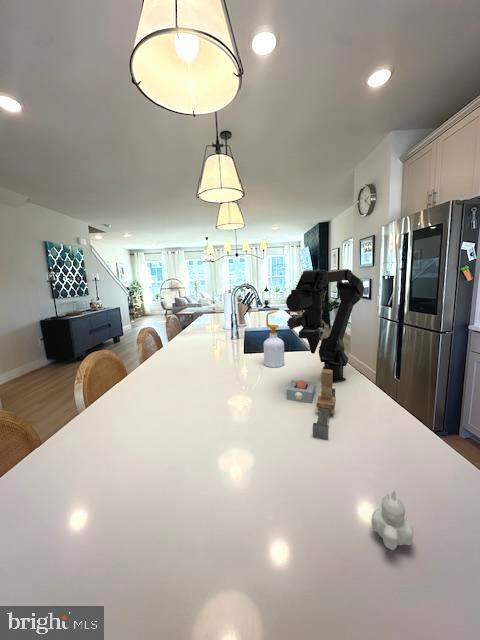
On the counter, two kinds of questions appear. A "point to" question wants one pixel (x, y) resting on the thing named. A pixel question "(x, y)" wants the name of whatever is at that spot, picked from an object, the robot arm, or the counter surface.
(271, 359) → the soap bottle
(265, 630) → the counter surface
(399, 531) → the white animal figurine
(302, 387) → the button
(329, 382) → the wooden t-block
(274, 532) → the counter surface
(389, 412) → the counter surface
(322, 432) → the rail
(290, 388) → the box
